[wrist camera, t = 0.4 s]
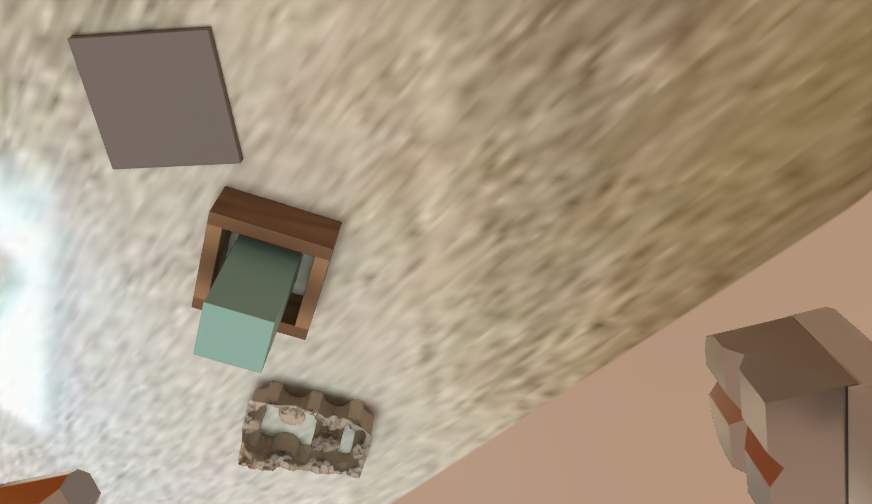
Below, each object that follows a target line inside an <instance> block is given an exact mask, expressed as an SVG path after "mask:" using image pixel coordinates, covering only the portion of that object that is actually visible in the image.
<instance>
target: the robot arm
mask: <svg viewBox="0 0 872 504" xmlns="http://www.w3.org/2000/svg"><path fill="white" fill-rule="evenodd" d="M705 354H706V365H707V366H708V368H709V369H710V371H711V372H712V374H713V375H714V377H715V378H716V380H717V383H716V384H715V386H714V387H713V389H712V391H711V392H710V394H709V397H710V404H711V412H712V418H713V422H714V426H715V429H716V433H717V437H718V439H719V441H720V444H721V446H722V448H723V451H724V452H725V455H726V456H727V458H728V460H729V461H730V463H731V465H732V467H734V468H736V469H738V470H740V471H742V472H744V473H746V474H747V485H748V493H749V495H750V496H751V498H752V499H753V501H754V503H755V504H872V341H871V340H869V338H867V337H866V336H865V335H864V334H863V333H861V331H859V330H858V329H857V328H856V327H855V326H854V325H852V324H851V323H850V322H849V321H848V320H847V319H846V318H844V317H843V316H842V315H841V314H840V313H839V312H838V311H836V310H835V309H832V308H829V307H824V308H820V309H815V310H812V311H808V312H804V313H799V314H795V315H791V316H788V317H786V318H781V319H777V320H773V321H769V322H764V323H760V324H756V325H752V326H748V327H743V328H739V329H735V330H730V331H726V332H722V333H718V334H714V335H709V336H707V337H706V343H705ZM100 494H101V492H100V491H99V489H98V487H97V485H96V484H95V482H94V480H93V478H92V477H91V475H90V473H87V472H85V471H82V470H79V469H76V470H71V471H65V472H60V473H55V474H50V475H45V476H39V477H34V478H29V479H24V480H18V481H13V482H8V483H6V484H0V504H98V501H99V497H100Z"/></svg>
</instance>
